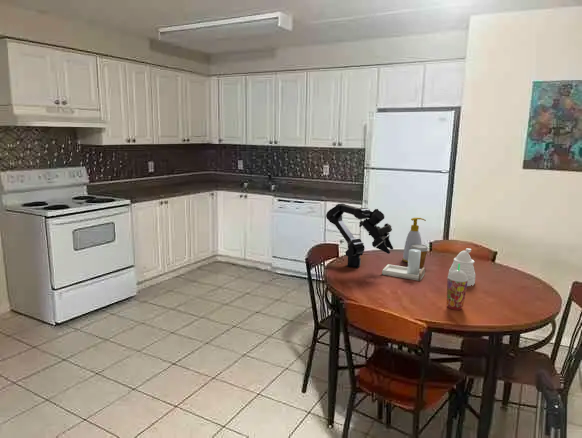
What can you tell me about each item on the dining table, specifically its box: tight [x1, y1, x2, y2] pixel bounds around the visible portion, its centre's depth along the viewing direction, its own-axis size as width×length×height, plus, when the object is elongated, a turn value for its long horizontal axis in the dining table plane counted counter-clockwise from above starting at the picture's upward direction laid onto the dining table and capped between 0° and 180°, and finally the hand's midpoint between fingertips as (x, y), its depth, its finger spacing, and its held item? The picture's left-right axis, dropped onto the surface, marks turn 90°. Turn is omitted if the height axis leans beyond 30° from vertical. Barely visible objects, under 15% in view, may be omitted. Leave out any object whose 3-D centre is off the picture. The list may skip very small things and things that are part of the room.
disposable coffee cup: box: [411, 243, 429, 269], centre depth 243 cm, size 10×10×12 cm
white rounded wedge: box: [407, 249, 421, 275], centre depth 225 cm, size 6×6×13 cm
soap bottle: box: [402, 217, 426, 264], centre depth 251 cm, size 11×12×26 cm
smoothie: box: [446, 264, 468, 311], centre depth 184 cm, size 8×8×20 cm
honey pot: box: [448, 248, 476, 287], centre depth 218 cm, size 13×13×18 cm
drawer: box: [381, 263, 426, 282], centre depth 229 cm, size 20×12×4 cm, turn 63°
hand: (391, 251), depth 226 cm, fingers open, 9 cm apart
